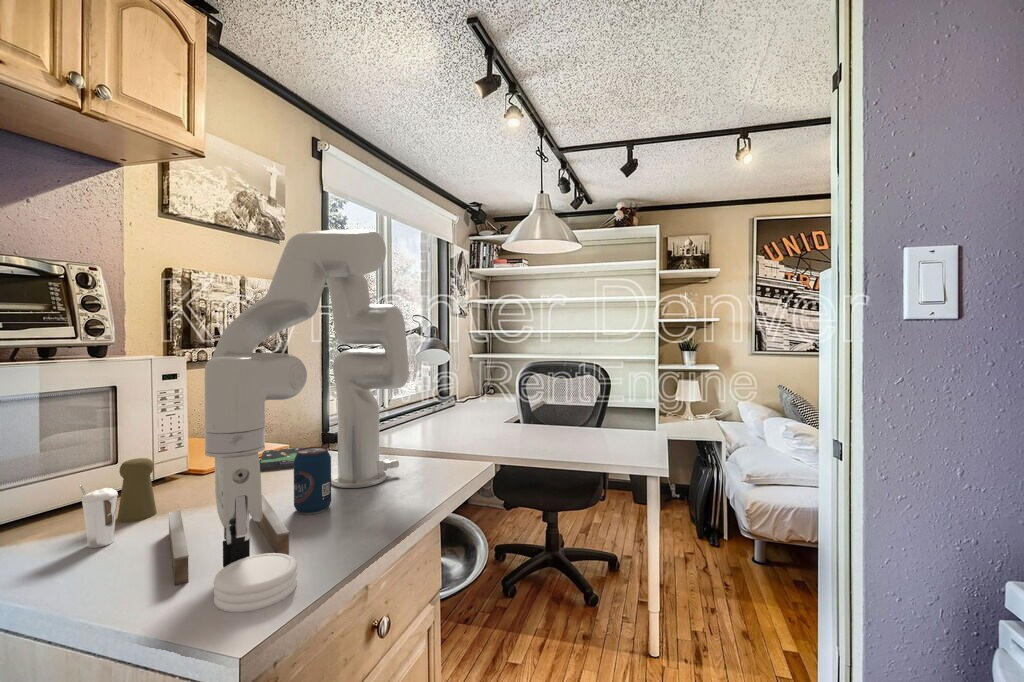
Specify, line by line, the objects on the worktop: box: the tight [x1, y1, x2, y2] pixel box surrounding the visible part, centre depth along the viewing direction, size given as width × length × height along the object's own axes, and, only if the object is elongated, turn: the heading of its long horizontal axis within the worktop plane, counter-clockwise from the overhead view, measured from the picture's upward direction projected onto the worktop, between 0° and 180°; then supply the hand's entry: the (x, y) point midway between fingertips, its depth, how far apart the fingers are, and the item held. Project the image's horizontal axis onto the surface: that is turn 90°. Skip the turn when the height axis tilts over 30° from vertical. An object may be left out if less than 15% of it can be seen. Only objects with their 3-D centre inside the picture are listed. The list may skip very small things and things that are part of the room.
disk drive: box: [259, 447, 303, 472], centre depth 132 cm, size 10×3×15 cm
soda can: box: [293, 446, 332, 515], centre depth 96 cm, size 7×7×12 cm
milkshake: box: [79, 484, 119, 549], centre depth 80 cm, size 4×5×10 cm
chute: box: [168, 494, 290, 586], centre depth 80 cm, size 15×22×4 cm
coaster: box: [213, 552, 298, 613], centre depth 65 cm, size 10×10×4 cm
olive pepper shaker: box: [116, 457, 158, 523], centre depth 92 cm, size 6×6×11 cm
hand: (236, 566), depth 69 cm, fingers closed
